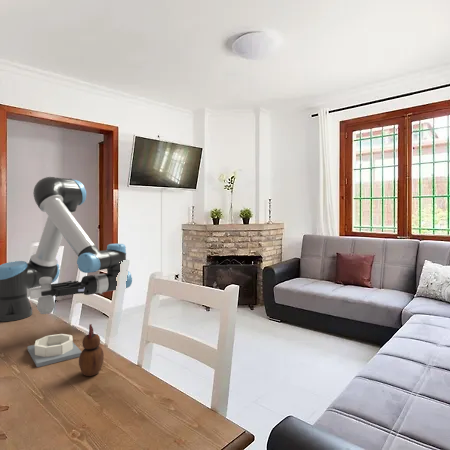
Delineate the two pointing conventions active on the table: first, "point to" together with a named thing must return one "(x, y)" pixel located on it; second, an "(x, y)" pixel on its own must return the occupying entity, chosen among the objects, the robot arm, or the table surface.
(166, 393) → the table surface
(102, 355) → the wooden figurine
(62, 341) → the ring holder
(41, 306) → the salt shaker
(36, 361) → the slate board
